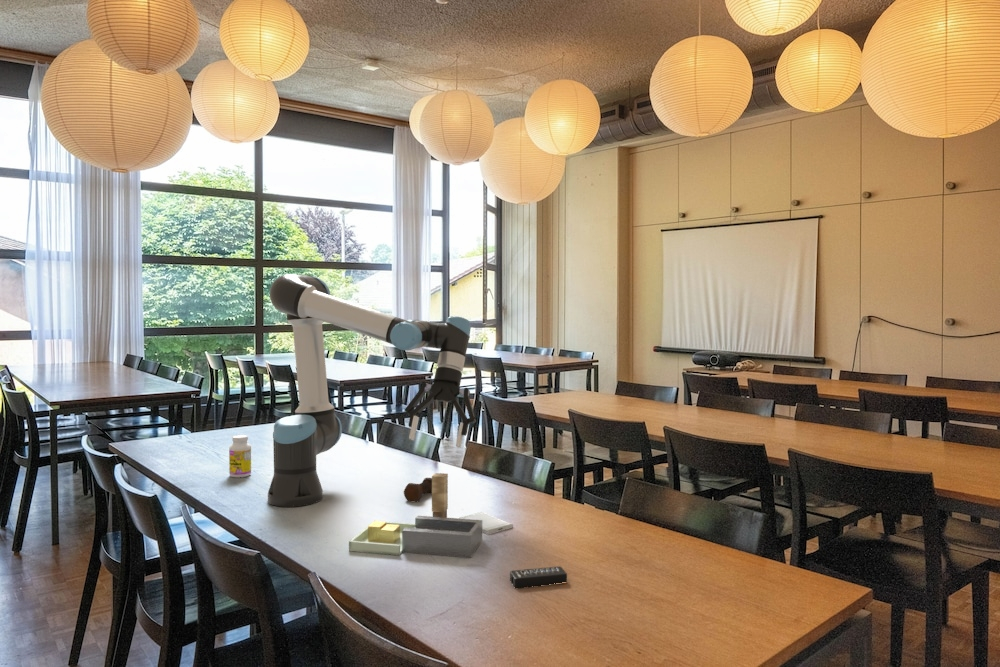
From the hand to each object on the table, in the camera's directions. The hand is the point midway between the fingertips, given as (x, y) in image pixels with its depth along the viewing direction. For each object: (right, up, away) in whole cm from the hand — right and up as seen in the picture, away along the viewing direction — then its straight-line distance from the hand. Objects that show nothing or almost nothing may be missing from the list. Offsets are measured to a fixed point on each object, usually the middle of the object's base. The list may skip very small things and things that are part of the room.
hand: (434, 443), depth 188 cm
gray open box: (+5, -19, -31) cm, 36 cm away
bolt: (-4, -18, +12) cm, 22 cm away
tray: (-9, -19, -28) cm, 35 cm away
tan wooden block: (-8, -18, -28) cm, 34 cm away
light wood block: (-10, -17, -27) cm, 33 cm away
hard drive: (+14, -19, -15) cm, 28 cm away
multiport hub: (+26, -21, -50) cm, 60 cm away
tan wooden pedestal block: (+3, -18, -16) cm, 24 cm away
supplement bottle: (-66, -16, +33) cm, 76 cm away
